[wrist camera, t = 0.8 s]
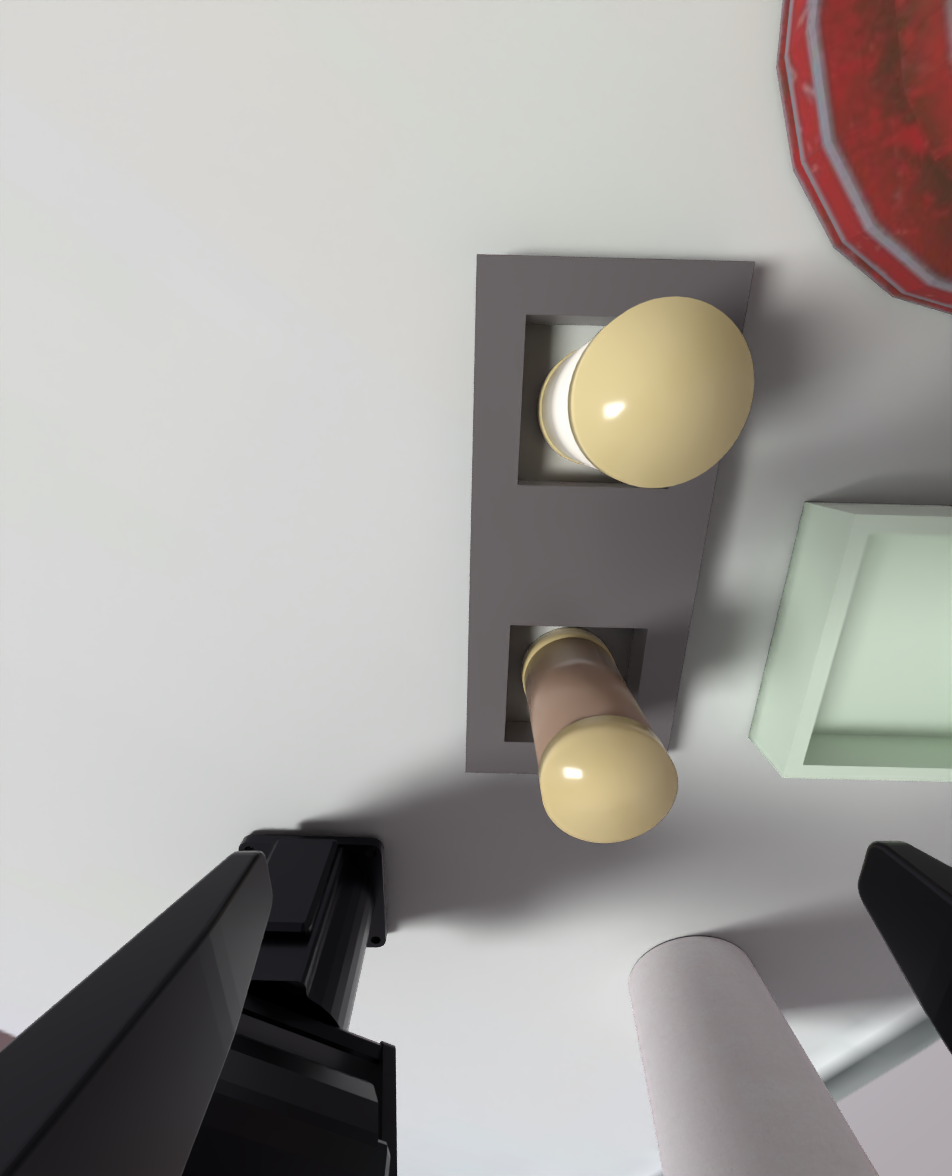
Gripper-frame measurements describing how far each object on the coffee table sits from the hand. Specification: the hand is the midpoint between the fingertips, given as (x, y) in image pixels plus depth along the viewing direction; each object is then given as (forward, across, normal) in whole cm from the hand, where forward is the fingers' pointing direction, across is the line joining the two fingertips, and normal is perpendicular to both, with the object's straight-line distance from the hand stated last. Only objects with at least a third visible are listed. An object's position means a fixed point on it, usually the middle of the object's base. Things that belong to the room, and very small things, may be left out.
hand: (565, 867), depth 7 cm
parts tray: (+12, -15, +2) cm, 20 cm away
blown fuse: (+12, -2, +3) cm, 13 cm away
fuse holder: (+12, -2, -2) cm, 13 cm away
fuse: (+12, -3, -7) cm, 14 cm away
